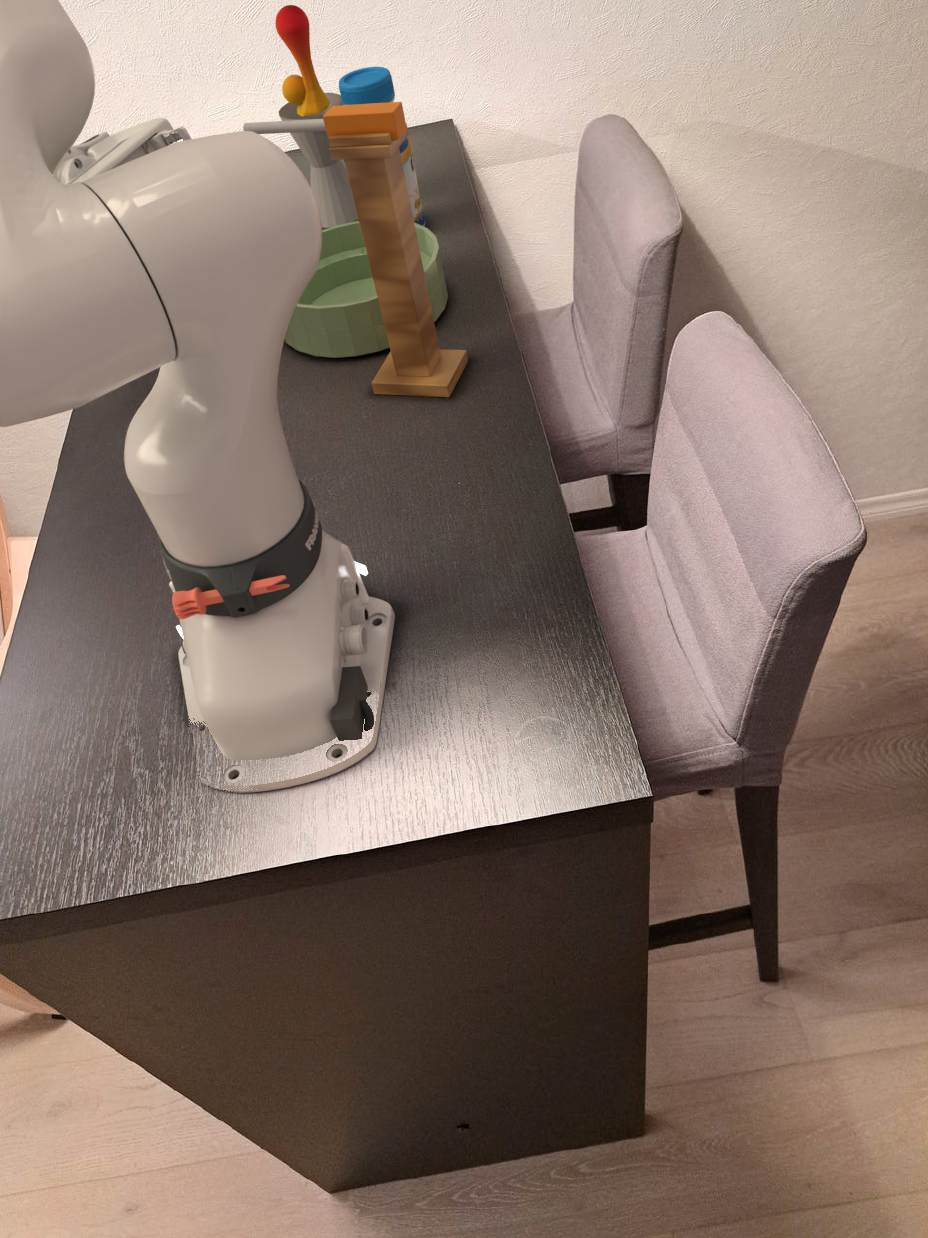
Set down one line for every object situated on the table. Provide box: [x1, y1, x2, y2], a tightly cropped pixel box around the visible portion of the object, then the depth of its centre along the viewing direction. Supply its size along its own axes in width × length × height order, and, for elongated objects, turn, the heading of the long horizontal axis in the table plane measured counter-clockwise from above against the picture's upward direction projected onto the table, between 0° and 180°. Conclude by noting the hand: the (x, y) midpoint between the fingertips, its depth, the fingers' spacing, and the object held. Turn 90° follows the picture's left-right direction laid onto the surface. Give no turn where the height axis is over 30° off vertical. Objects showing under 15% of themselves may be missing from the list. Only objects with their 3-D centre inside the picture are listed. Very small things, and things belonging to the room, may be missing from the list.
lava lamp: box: [274, 4, 359, 229], centre depth 126 cm, size 9×9×35 cm
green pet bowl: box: [284, 220, 449, 359], centre depth 115 cm, size 21×21×7 cm
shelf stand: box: [328, 123, 469, 398], centre depth 96 cm, size 9×7×27 cm
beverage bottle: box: [338, 66, 426, 227], centre depth 125 cm, size 8×8×20 cm
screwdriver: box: [242, 101, 408, 140], centre depth 88 cm, size 16×2×2 cm, turn 73°
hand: (162, 155), depth 95 cm, fingers open, 8 cm apart
